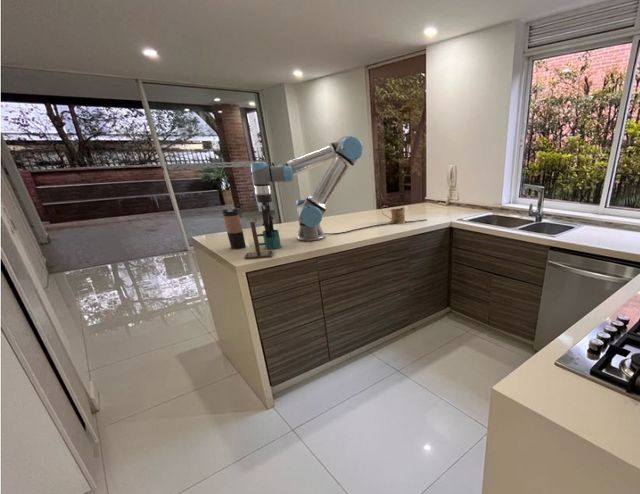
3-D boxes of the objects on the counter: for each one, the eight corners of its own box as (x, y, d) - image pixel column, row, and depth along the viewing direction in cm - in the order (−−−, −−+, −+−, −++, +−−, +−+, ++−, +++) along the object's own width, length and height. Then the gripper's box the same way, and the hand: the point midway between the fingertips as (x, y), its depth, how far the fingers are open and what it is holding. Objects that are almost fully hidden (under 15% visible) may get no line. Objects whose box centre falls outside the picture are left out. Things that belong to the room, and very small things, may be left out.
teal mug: (281, 244, 191) (278, 229, 187) (280, 248, 184) (277, 232, 180) (258, 246, 188) (255, 230, 184) (256, 250, 181) (253, 233, 177)
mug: (382, 221, 253) (381, 204, 248) (405, 220, 254) (405, 204, 249) (382, 224, 242) (381, 207, 237) (406, 223, 244) (406, 206, 239)
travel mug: (239, 249, 183) (231, 211, 174) (227, 248, 184) (218, 211, 176) (249, 245, 189) (241, 209, 181) (237, 244, 191) (228, 208, 183)
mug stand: (273, 249, 182) (267, 217, 175) (271, 257, 170) (264, 222, 163) (249, 251, 179) (242, 218, 171) (245, 259, 167) (237, 223, 160)
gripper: (258, 191, 185) (265, 230, 193) (252, 197, 163) (260, 240, 172) (273, 191, 187) (279, 229, 195) (269, 197, 165) (276, 239, 174)
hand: (270, 234), depth 184 cm, fingers open, 13 cm apart
